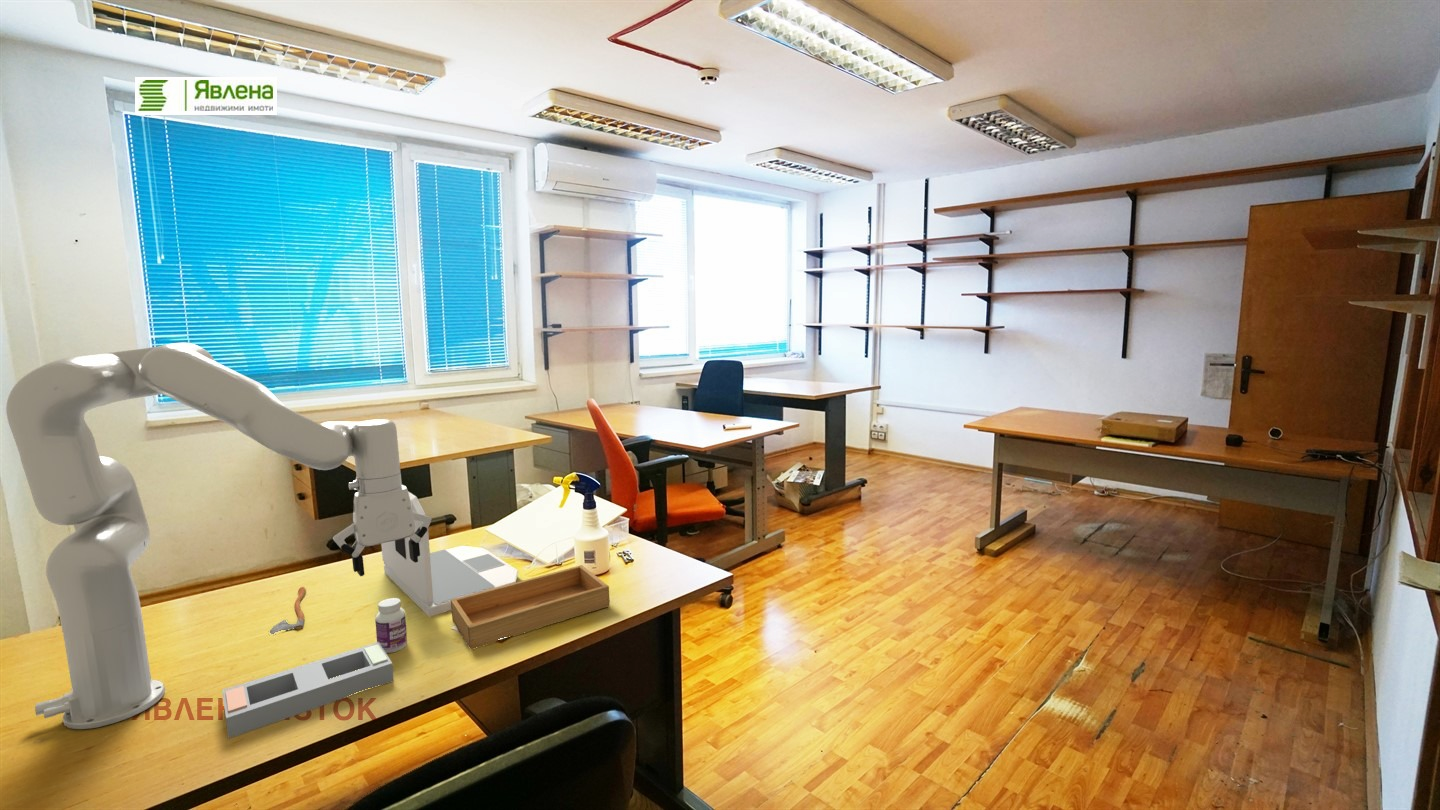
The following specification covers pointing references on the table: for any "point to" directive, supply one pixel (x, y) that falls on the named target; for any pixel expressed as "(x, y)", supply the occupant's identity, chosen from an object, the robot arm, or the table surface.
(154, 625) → the table surface
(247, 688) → the socket board
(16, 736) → the table surface
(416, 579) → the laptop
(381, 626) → the pill bottle
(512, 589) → the tray
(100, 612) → the robot arm
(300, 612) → the axe
